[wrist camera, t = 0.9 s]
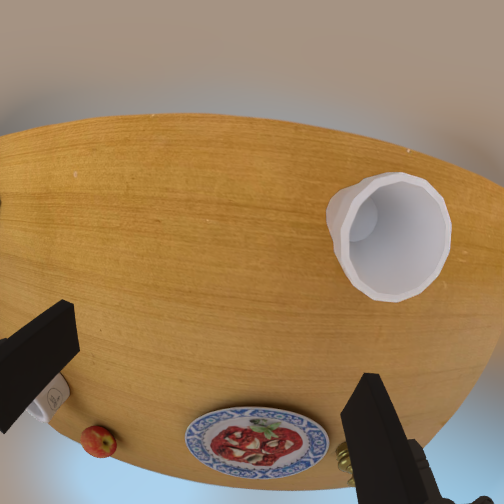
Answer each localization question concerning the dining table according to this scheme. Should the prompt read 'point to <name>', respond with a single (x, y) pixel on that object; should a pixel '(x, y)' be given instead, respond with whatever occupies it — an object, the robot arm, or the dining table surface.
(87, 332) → the dining table surface
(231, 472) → the ceramic plate
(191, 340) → the dining table surface
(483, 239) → the dining table surface
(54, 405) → the mug
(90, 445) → the apple
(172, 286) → the dining table surface
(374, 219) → the foam cup
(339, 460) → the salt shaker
